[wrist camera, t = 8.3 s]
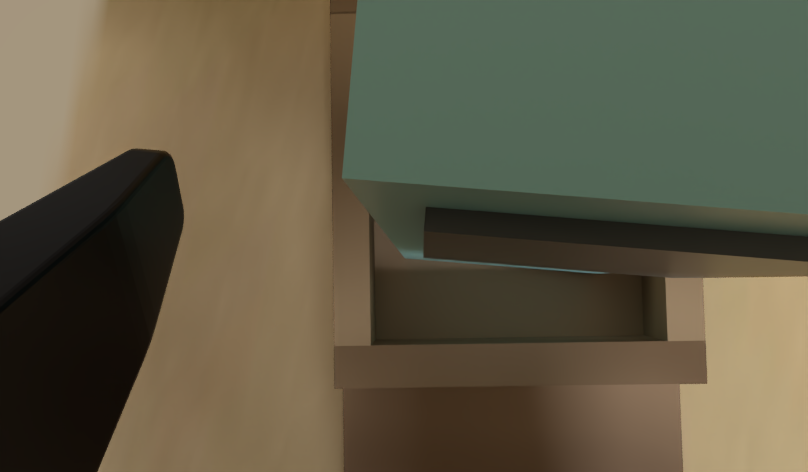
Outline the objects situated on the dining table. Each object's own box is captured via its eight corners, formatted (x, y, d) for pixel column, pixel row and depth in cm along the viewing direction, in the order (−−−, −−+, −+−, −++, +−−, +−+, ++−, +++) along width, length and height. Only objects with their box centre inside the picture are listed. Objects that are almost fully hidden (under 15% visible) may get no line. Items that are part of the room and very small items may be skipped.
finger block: (594, 280, 15) (1220, 278, 3) (404, 265, 15) (340, 208, 3) (604, 110, 15) (1225, -474, 4) (417, 95, 16) (401, -517, 4)
